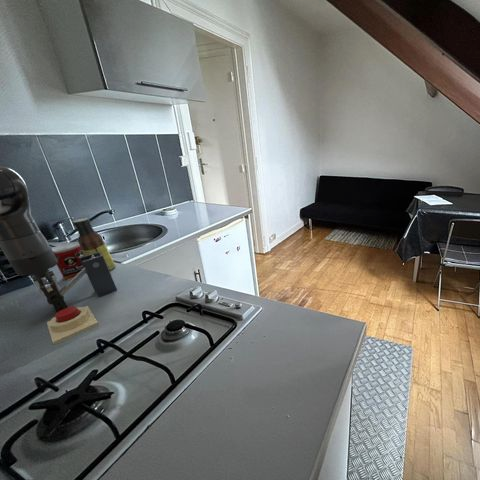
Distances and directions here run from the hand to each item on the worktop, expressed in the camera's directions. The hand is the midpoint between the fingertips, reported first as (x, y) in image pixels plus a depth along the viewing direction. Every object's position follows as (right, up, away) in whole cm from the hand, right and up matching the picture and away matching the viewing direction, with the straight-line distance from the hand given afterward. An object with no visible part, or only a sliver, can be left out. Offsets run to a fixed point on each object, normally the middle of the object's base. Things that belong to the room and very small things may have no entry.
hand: (62, 308), depth 70 cm
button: (+9, 0, -8) cm, 12 cm away
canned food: (-14, +6, +21) cm, 26 cm away
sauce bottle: (-5, +7, +21) cm, 22 cm away
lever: (+3, +7, +2) cm, 8 cm away
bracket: (+6, +2, +7) cm, 10 cm away
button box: (+10, -3, -6) cm, 12 cm away
